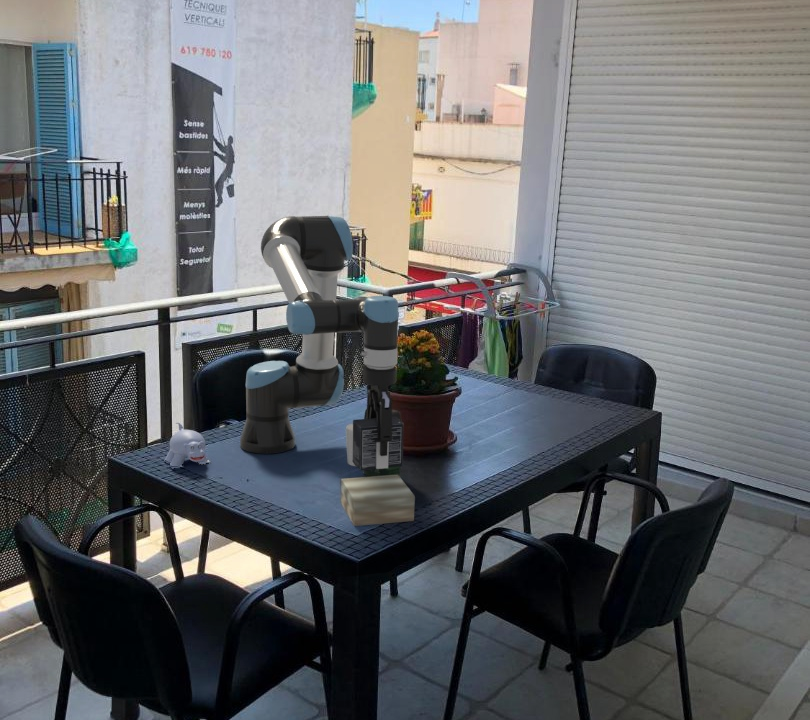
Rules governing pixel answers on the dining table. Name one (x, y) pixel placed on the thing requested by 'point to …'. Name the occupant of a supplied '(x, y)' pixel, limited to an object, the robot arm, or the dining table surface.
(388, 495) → the plinth
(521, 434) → the dining table surface
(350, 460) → the white cup
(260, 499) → the dining table surface
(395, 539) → the dining table surface
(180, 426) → the hippopotamus toy
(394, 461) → the small box
